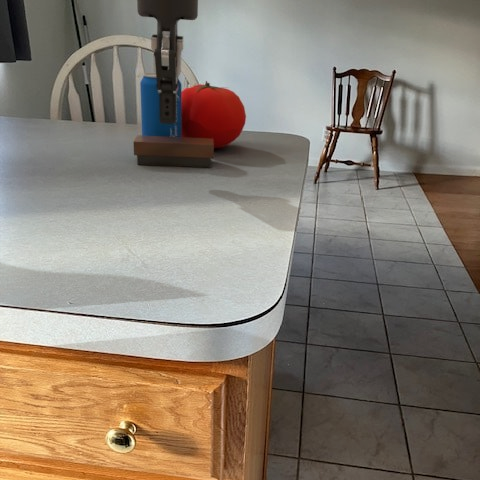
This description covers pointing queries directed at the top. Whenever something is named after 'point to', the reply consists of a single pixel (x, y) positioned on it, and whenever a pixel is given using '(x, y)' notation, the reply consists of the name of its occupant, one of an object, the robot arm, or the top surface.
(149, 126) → the beverage can
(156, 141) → the scrub brush
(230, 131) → the tomato
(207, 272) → the top surface
